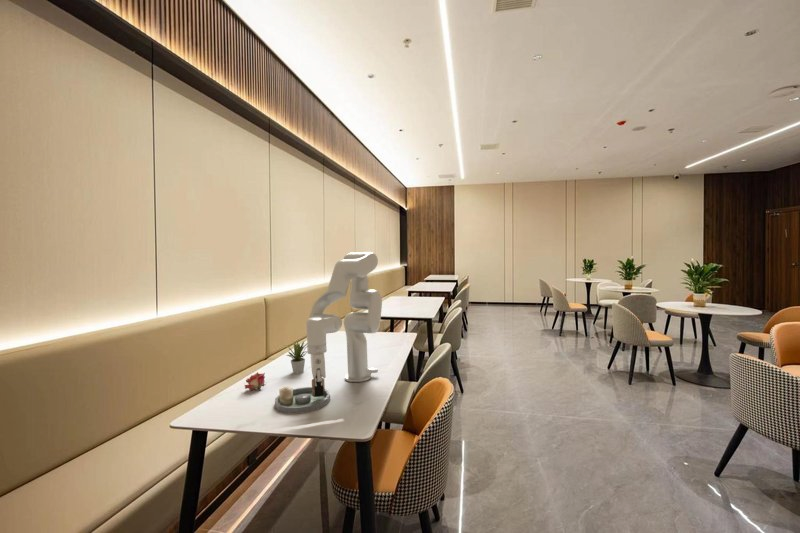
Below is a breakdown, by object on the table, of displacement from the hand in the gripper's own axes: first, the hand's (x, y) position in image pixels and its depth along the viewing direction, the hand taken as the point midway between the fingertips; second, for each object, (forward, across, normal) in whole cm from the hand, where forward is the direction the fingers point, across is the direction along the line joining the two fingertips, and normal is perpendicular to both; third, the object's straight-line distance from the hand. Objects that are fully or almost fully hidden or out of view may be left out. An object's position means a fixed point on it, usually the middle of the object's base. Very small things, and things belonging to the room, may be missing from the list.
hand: (318, 392), depth 144 cm
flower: (+4, +24, +26) cm, 36 cm away
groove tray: (+4, 0, +6) cm, 7 cm away
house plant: (+4, +43, +6) cm, 44 cm away
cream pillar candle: (+3, 0, +12) cm, 13 cm away
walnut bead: (+1, 0, 0) cm, 1 cm away
